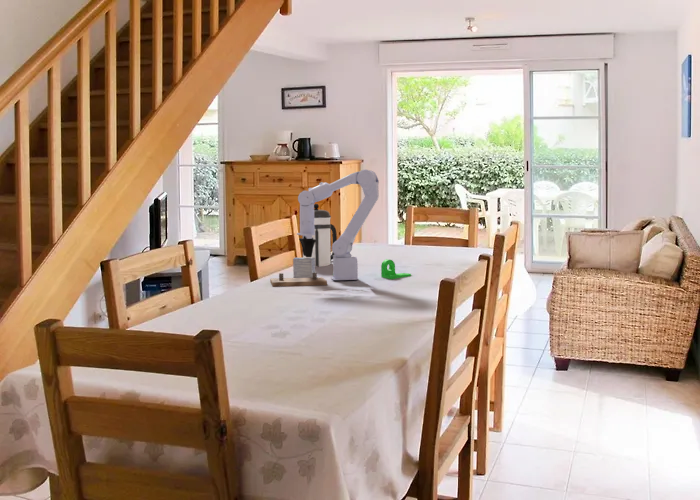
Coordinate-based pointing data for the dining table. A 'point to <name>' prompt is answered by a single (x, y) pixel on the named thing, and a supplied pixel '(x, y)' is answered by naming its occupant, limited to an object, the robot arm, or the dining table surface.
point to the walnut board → (298, 281)
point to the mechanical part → (391, 270)
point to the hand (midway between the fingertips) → (307, 256)
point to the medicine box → (303, 267)
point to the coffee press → (322, 237)
